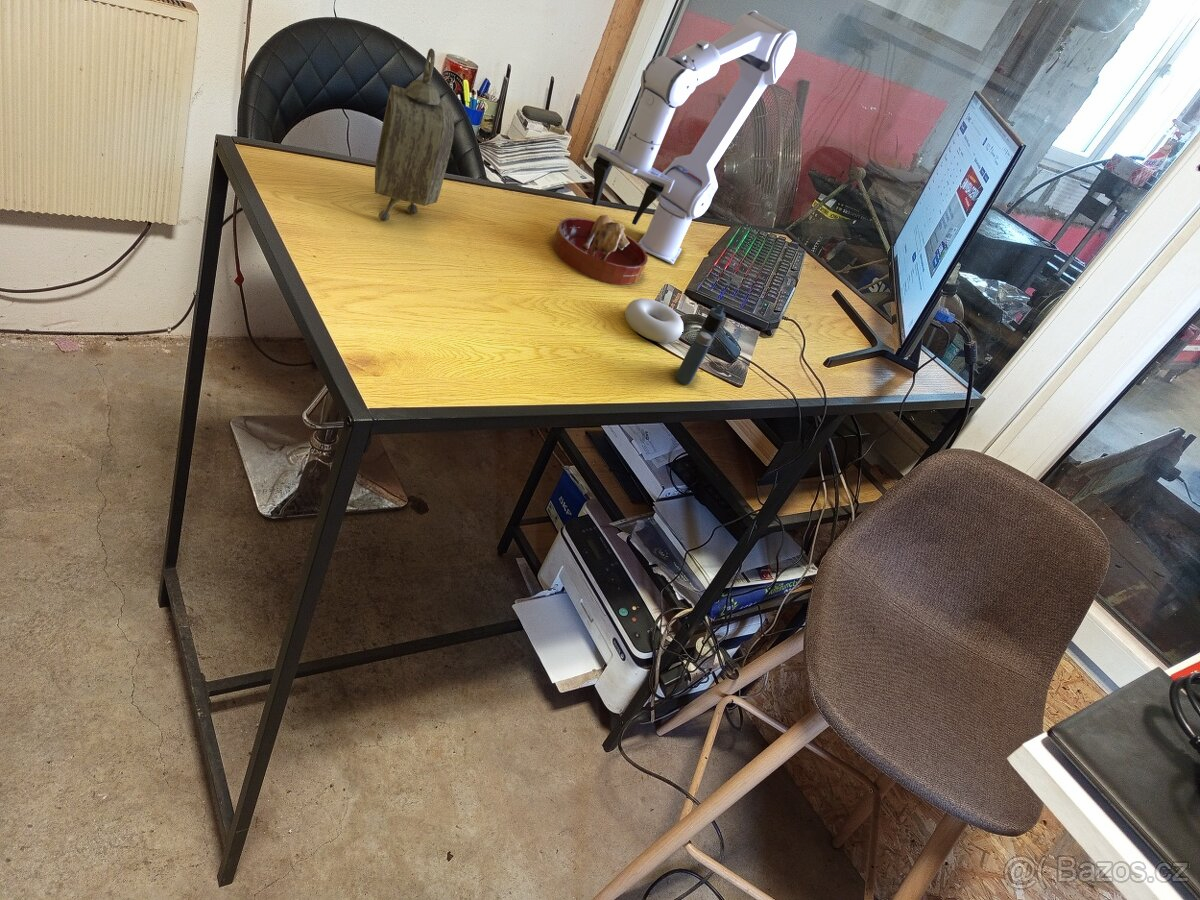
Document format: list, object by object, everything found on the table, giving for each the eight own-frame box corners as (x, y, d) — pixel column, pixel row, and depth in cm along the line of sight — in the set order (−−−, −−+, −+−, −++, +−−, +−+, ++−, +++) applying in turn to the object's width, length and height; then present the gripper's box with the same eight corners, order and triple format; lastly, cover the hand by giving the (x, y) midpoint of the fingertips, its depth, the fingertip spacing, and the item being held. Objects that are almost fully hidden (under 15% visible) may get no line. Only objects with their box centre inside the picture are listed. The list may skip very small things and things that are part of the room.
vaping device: (695, 373, 120) (730, 308, 113) (688, 387, 115) (724, 320, 108) (680, 366, 120) (714, 300, 113) (672, 379, 115) (707, 312, 109)
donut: (616, 329, 122) (675, 354, 122) (624, 311, 120) (683, 336, 120) (627, 305, 130) (682, 328, 130) (634, 287, 128) (690, 311, 128)
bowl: (567, 225, 147) (574, 208, 145) (648, 264, 146) (655, 248, 144) (539, 252, 133) (545, 234, 131) (628, 295, 132) (636, 278, 130)
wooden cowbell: (370, 185, 129) (401, 27, 115) (425, 199, 132) (461, 47, 118) (371, 223, 118) (405, 55, 104) (429, 238, 122) (470, 77, 108)
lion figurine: (617, 279, 135) (636, 233, 130) (589, 272, 133) (607, 225, 128) (599, 241, 146) (617, 196, 141) (573, 234, 144) (590, 189, 139)
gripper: (598, 121, 123) (570, 200, 131) (680, 161, 123) (647, 237, 131) (609, 115, 129) (582, 190, 137) (688, 152, 129) (655, 226, 137)
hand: (614, 213), depth 134 cm, fingers open, 7 cm apart
